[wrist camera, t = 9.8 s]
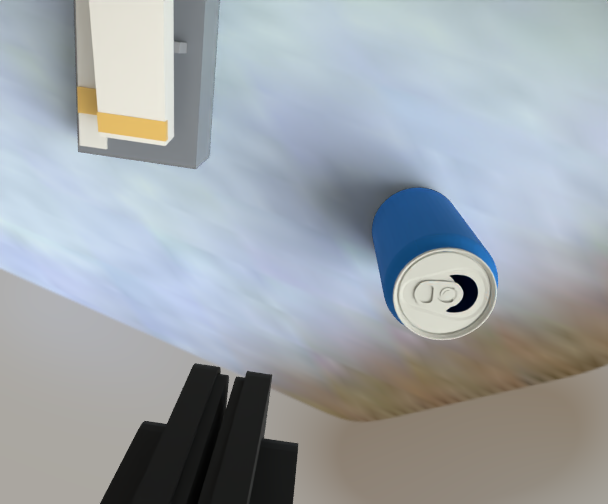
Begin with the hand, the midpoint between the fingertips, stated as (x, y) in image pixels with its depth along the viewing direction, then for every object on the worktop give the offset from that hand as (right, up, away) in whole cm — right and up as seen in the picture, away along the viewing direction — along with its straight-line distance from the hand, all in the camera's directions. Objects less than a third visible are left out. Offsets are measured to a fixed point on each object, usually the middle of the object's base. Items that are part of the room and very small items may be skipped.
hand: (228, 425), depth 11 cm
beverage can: (+10, +6, +29) cm, 31 cm away
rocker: (-8, +16, +18) cm, 25 cm away
